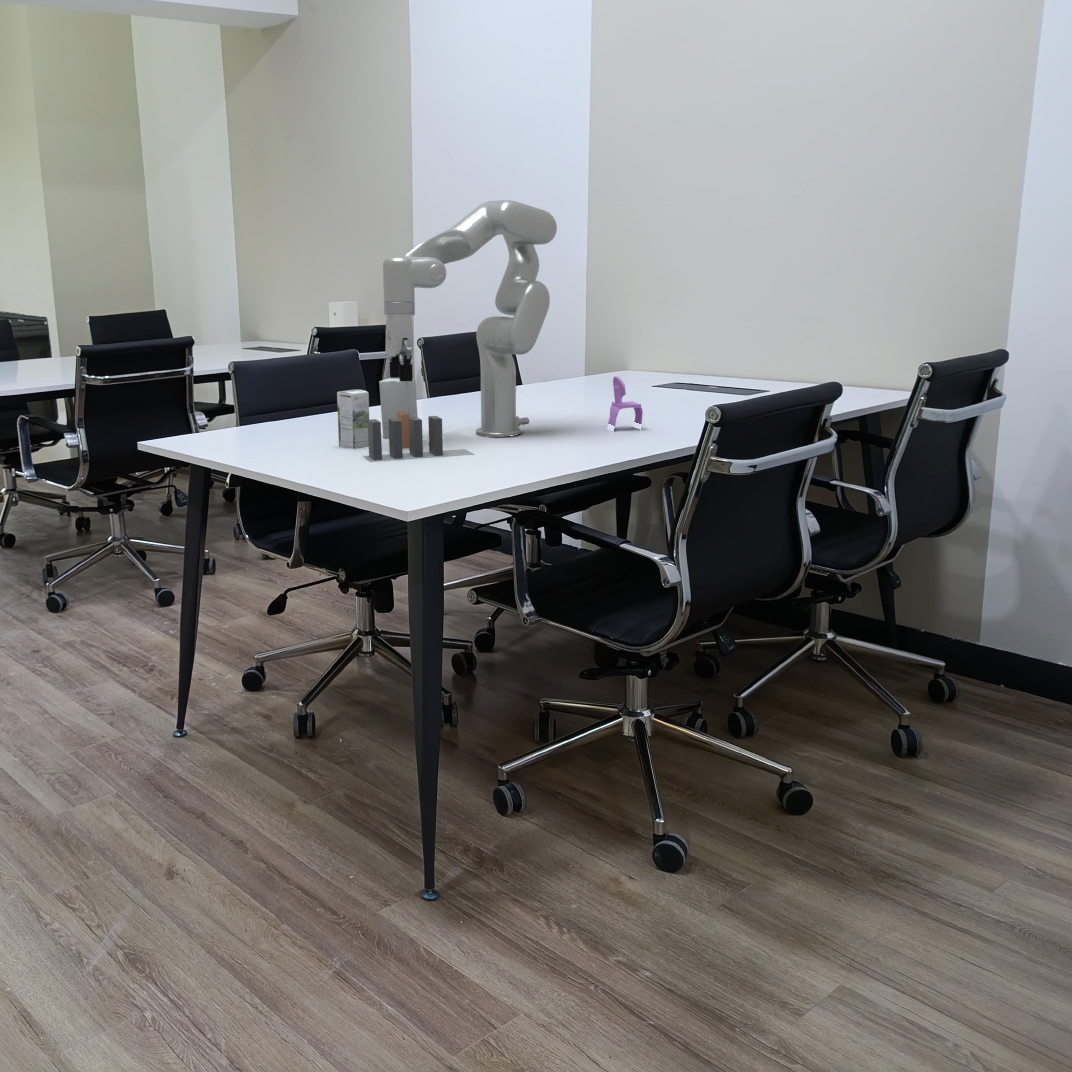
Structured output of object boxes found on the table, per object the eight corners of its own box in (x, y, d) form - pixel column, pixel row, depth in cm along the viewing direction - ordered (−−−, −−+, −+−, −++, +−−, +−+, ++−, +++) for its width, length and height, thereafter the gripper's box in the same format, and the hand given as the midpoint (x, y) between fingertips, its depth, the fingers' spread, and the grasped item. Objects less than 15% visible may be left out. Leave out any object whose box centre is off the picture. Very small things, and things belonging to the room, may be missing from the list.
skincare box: (419, 435, 285) (417, 378, 281) (409, 439, 279) (408, 381, 275) (390, 434, 288) (388, 377, 284) (380, 438, 281) (378, 380, 277)
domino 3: (405, 446, 269) (404, 411, 267) (410, 449, 265) (409, 414, 263) (397, 446, 269) (396, 411, 266) (402, 450, 264) (401, 414, 262)
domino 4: (417, 453, 257) (416, 416, 255) (423, 456, 253) (421, 419, 251) (409, 453, 257) (408, 417, 254) (414, 457, 252) (413, 420, 250)
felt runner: (465, 450, 263) (465, 449, 263) (475, 456, 256) (475, 454, 256) (362, 457, 254) (362, 455, 254) (370, 463, 247) (370, 461, 247)
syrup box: (355, 444, 272) (353, 388, 268) (371, 447, 268) (368, 390, 264) (338, 447, 267) (335, 390, 264) (354, 450, 264) (351, 392, 260)
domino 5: (437, 452, 259) (436, 415, 257) (442, 455, 255) (442, 418, 252) (429, 452, 259) (428, 416, 256) (434, 456, 254) (434, 419, 252)
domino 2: (397, 454, 256) (396, 418, 253) (402, 458, 251) (401, 420, 249) (389, 455, 255) (388, 418, 253) (394, 458, 250) (393, 421, 248)
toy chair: (644, 431, 294) (645, 377, 290) (614, 432, 291) (616, 378, 287) (633, 426, 301) (634, 374, 297) (604, 427, 299) (605, 375, 295)
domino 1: (377, 456, 254) (375, 419, 252) (382, 459, 249) (380, 422, 247) (369, 456, 253) (367, 419, 251) (373, 460, 249) (372, 422, 246)
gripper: (376, 308, 264) (378, 376, 269) (393, 310, 249) (394, 383, 253) (405, 307, 267) (406, 375, 271) (423, 310, 251) (425, 382, 256)
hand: (401, 379), depth 262 cm, fingers open, 9 cm apart
